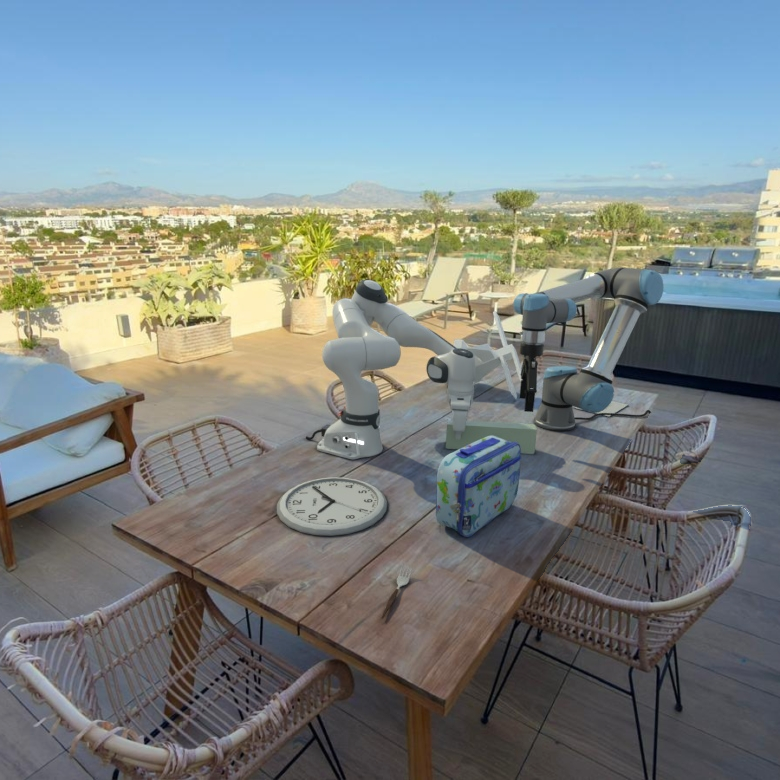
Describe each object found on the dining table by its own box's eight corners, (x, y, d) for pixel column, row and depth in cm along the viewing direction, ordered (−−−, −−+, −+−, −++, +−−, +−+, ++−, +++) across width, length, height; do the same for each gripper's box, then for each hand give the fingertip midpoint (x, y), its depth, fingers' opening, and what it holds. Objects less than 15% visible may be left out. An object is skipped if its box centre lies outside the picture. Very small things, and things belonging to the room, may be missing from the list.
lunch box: (462, 546, 125) (467, 466, 119) (428, 528, 132) (432, 452, 126) (521, 508, 143) (529, 437, 136) (489, 494, 150) (494, 425, 144)
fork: (375, 618, 102) (375, 610, 101) (401, 570, 116) (402, 563, 115) (388, 622, 101) (388, 613, 100) (413, 573, 115) (413, 565, 114)
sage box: (532, 448, 182) (534, 424, 180) (534, 454, 178) (536, 429, 175) (445, 442, 186) (447, 419, 183) (445, 448, 181) (446, 424, 178)
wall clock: (392, 527, 129) (268, 531, 127) (391, 533, 130) (269, 537, 127) (383, 473, 158) (282, 475, 155) (383, 478, 158) (282, 480, 156)
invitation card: (608, 416, 214) (573, 407, 224) (608, 416, 214) (573, 408, 224) (628, 404, 229) (594, 396, 238) (628, 405, 229) (594, 397, 238)
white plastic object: (461, 429, 252) (437, 405, 227) (444, 352, 274) (420, 323, 250) (535, 404, 240) (518, 377, 215) (510, 326, 262) (492, 293, 237)
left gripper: (451, 387, 188) (449, 423, 192) (450, 405, 168) (448, 445, 172) (468, 388, 187) (466, 424, 191) (470, 407, 167) (467, 446, 172)
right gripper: (516, 334, 181) (510, 392, 188) (525, 350, 158) (518, 416, 164) (538, 335, 180) (532, 393, 187) (550, 351, 157) (543, 418, 163)
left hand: (457, 434), depth 181 cm, fingers open, 6 cm apart
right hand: (525, 404), depth 175 cm, fingers open, 13 cm apart
